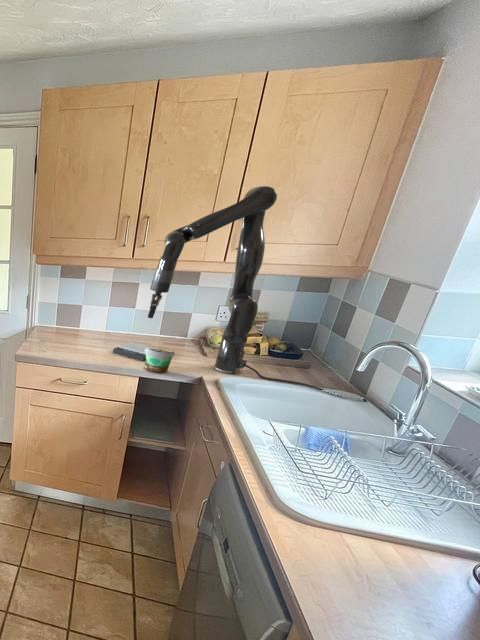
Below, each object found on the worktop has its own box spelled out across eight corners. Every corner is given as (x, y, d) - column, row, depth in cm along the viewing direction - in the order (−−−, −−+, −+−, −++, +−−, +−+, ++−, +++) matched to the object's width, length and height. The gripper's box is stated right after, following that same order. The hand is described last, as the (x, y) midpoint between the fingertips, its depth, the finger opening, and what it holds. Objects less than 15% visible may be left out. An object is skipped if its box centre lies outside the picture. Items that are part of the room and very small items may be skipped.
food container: (139, 371, 185) (143, 350, 181) (141, 366, 190) (145, 346, 186) (169, 376, 180) (174, 354, 176) (170, 371, 185) (175, 350, 181)
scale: (158, 353, 206) (159, 348, 205) (142, 361, 196) (144, 355, 195) (129, 346, 217) (129, 341, 216) (112, 352, 207) (113, 347, 206)
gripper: (170, 284, 172) (158, 321, 179) (172, 279, 184) (160, 314, 191) (151, 280, 175) (140, 317, 182) (154, 276, 187) (143, 311, 194)
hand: (150, 315), depth 187 cm, fingers open, 8 cm apart
